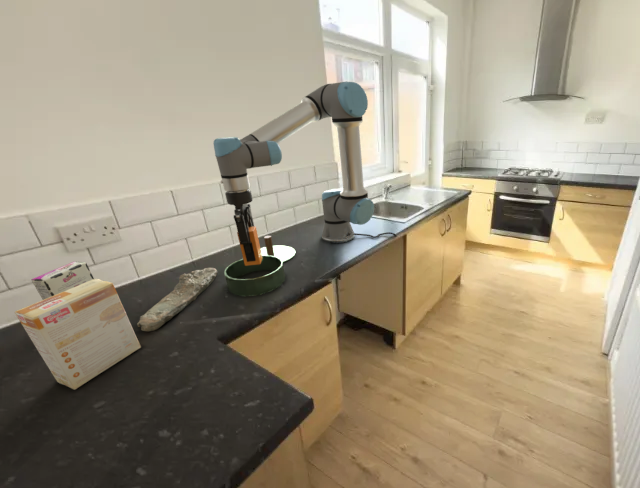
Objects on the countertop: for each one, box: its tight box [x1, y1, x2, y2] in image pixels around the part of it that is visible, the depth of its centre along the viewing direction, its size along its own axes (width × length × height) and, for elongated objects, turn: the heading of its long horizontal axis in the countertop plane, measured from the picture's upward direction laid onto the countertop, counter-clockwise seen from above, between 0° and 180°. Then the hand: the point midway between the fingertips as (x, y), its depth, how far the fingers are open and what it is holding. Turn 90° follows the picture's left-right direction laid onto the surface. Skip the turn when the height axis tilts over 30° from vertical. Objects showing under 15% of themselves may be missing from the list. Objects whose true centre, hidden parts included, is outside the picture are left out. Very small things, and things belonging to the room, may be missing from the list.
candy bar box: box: [30, 261, 95, 300], centre depth 92 cm, size 11×5×16 cm, turn 170°
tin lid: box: [260, 235, 297, 264], centre depth 131 cm, size 20×20×9 cm
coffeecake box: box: [14, 278, 142, 391], centre depth 73 cm, size 15×7×20 cm, turn 159°
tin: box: [223, 255, 286, 297], centre depth 112 cm, size 19×19×6 cm
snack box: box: [236, 225, 262, 266], centre depth 107 cm, size 5×5×12 cm
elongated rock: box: [136, 267, 218, 332], centre depth 103 cm, size 35×5×10 cm
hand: (252, 257), depth 109 cm, fingers closed on snack box, 5 cm apart
